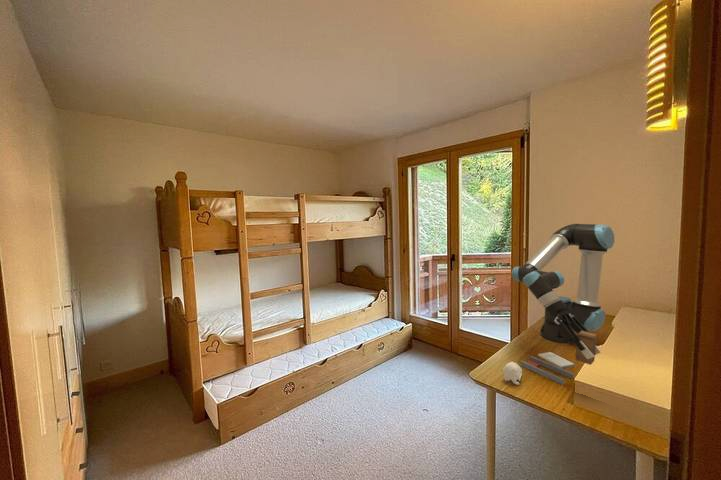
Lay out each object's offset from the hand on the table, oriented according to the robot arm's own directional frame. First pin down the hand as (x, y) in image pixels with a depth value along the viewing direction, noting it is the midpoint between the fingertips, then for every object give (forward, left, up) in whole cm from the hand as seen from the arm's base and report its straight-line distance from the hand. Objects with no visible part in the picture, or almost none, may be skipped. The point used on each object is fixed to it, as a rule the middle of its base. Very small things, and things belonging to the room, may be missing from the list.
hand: (594, 355), depth 115 cm
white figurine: (+18, -21, -15) cm, 32 cm away
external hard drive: (-14, -20, -16) cm, 29 cm away
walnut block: (0, -3, -3) cm, 5 cm away
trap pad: (0, -24, -15) cm, 28 cm away
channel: (0, -17, -15) cm, 23 cm away
